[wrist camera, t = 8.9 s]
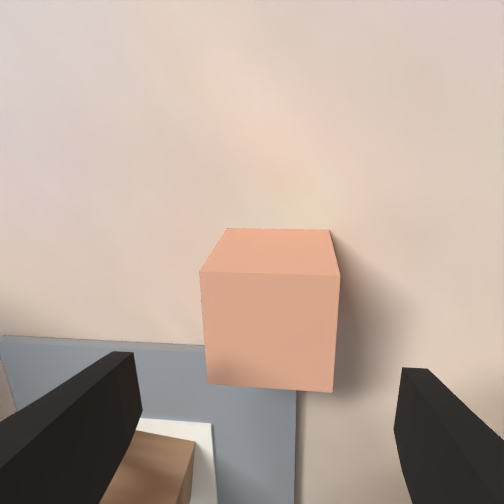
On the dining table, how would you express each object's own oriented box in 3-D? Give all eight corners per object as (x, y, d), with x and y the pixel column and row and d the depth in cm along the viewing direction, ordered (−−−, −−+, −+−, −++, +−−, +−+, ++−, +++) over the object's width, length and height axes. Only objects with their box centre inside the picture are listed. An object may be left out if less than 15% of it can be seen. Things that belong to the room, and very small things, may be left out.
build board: (62, 532, 26) (55, 545, 25) (4, 335, 20) (-7, 343, 19) (292, 560, 24) (292, 574, 23) (297, 350, 18) (297, 360, 17)
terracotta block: (231, 315, 18) (207, 383, 13) (227, 227, 17) (199, 271, 12) (323, 319, 18) (332, 392, 13) (328, 229, 16) (340, 275, 11)
